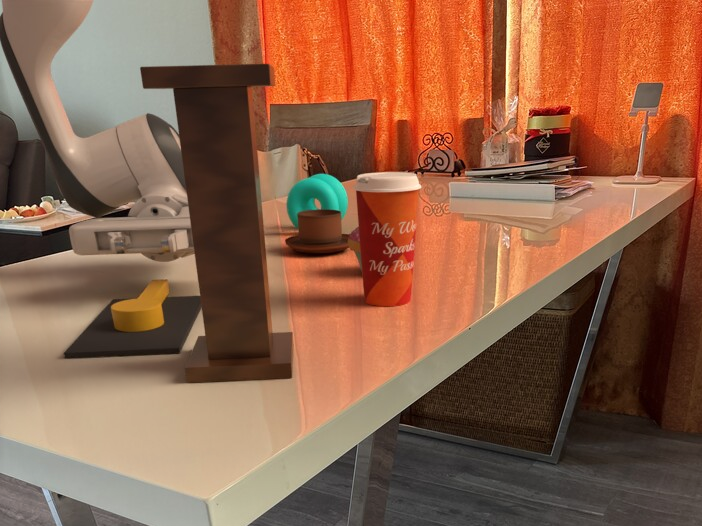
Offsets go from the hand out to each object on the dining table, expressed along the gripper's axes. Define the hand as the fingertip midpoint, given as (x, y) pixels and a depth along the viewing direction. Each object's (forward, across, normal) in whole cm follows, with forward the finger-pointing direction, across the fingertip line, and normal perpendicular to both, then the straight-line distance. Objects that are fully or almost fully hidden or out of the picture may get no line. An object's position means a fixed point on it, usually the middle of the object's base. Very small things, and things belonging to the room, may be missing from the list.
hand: (142, 246), depth 86 cm
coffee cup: (-1, +30, +8) cm, 31 cm away
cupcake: (-17, +30, +8) cm, 35 cm away
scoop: (+2, 0, +7) cm, 8 cm away
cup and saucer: (-35, +22, +8) cm, 42 cm away
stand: (+21, +13, +8) cm, 26 cm away
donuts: (-54, +22, +8) cm, 59 cm away
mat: (+6, 0, +8) cm, 10 cm away
